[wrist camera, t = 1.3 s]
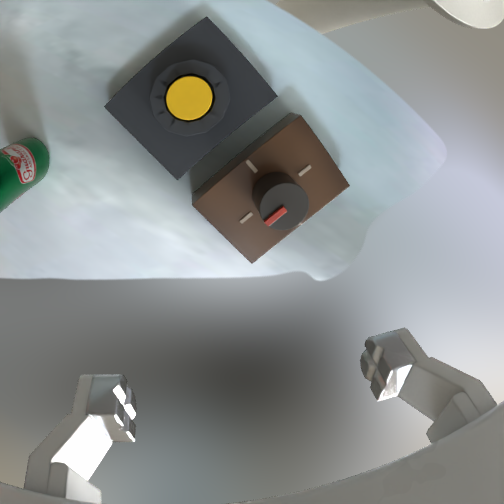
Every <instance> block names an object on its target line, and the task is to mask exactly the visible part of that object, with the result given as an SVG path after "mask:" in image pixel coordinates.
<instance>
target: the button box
mask: <svg viewBox="0 0 504 504" xmlns="http://www.w3.org/2000/svg"><path fill="white" fill-rule="evenodd" d="M187 76H194V77H198V78H200V79H202V80H204V81H205V82H206V83H207V84H208V85H209V87H210V89H211V91H212V103H211V106H210V108H209V109H208V111H207V112H206V113H205V114H204V115H202V116H201V117H199V118H197V119H193V120H183V119H180V118H178V117H176V116H174V115H173V114H172V113H171V112H170V110H169V109H168V106H167V102H166V96H167V92H168V90H169V88H170V86H171V85H172V84H173V83H174V82H175V81H177V80H178V79H180V78H183V77H187ZM276 97H278V96H277V95H276V94H275V92H274V91H273V90H272V89H271V87H270V86H269V85H268V84H267V83H266V81H265V80H264V79H263V78H262V77H261V75H260V74H259V73H258V72H257V71H256V70H255V68H254V67H253V66H252V65H251V64H250V63H249V61H248V60H247V59H246V58H245V57H244V56H243V55H242V53H241V52H240V51H239V50H238V49H237V48H236V47H235V46H234V45H233V44H232V42H231V41H230V40H229V39H228V38H227V37H226V36H225V35H224V34H223V33H222V32H221V31H220V30H219V28H218V27H217V26H216V25H215V24H214V23H213V22H212V21H211V20H210V19H209V18H208V17H205V18H204V19H203V20H201V21H200V22H198V23H197V24H196V25H194V26H193V27H192V28H190V29H189V30H188V31H187V32H185V33H184V34H183V35H181V36H180V37H179V38H178V39H176V40H175V41H174V42H173V43H171V44H170V45H169V46H168V47H167V48H165V49H164V50H163V51H162V52H161V53H159V54H158V55H157V56H156V57H155V58H154V59H153V60H151V61H150V62H149V63H148V64H147V65H146V66H145V67H144V68H143V69H141V70H140V71H139V72H138V73H137V74H136V75H135V76H134V77H133V78H132V79H131V80H130V81H129V82H128V83H127V84H126V85H125V86H124V87H123V88H122V89H121V90H120V91H119V92H118V93H117V94H116V95H115V96H114V97H113V98H112V99H111V100H110V101H109V102H108V103H107V104H106V105H105V106H104V107H105V108H106V109H107V110H108V111H109V112H110V113H111V114H112V115H113V116H114V117H115V118H116V119H117V120H118V121H119V122H120V123H121V124H122V125H123V126H124V127H125V128H126V129H127V130H128V131H129V132H130V133H131V134H132V135H133V136H134V137H135V138H136V139H137V140H138V141H139V142H140V143H141V144H142V145H143V146H144V147H145V148H146V149H147V150H148V151H149V152H150V153H151V154H152V155H153V156H154V157H155V158H156V159H157V160H158V161H159V162H160V163H161V164H162V165H163V166H164V167H165V168H166V169H167V170H168V171H169V172H170V173H171V174H172V175H173V176H174V177H175V178H176V179H177V180H178V179H179V178H180V177H182V176H183V175H184V174H185V173H186V172H187V171H188V170H189V169H190V168H191V167H193V166H194V165H195V164H196V163H197V162H198V161H199V160H200V159H202V158H203V157H204V156H205V155H206V154H207V153H209V152H210V151H211V150H212V149H213V148H214V147H215V146H217V145H218V144H219V143H220V142H221V141H223V140H224V139H225V138H226V137H227V136H229V135H230V134H231V133H232V132H233V131H235V130H236V129H237V128H238V127H239V126H241V125H242V124H243V123H244V122H246V121H247V120H248V119H249V118H251V117H252V116H253V115H254V114H256V113H257V112H258V111H260V110H261V109H262V108H263V107H265V106H266V105H267V104H269V103H270V102H271V101H273V100H274V99H275V98H276Z"/></svg>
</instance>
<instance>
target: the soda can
mask: <svg viewBox="0 0 504 504" xmlns="http://www.w3.org/2000/svg"><path fill="white" fill-rule="evenodd" d="M48 168H49V155H48V151H47V149H46V147H45V146H44V144H43V143H42V142H41V141H39V140H38V139H36V138H25V139H22V140H20V141H18V142H15V143H13V144H11V145H8V146H6V147H4V148H2V149H0V213H1V212H2V211H3V210H4V209H5V208H7V207H8V206H9V205H10V204H11V203H13V202H14V201H15V200H16V199H18V198H19V197H20V196H21V195H23V194H24V193H25V192H26V191H28V190H29V189H30V188H32V187H33V186H34V185H35V184H37V183H38V182H39V181H41V180H42V179H43V178H44V177H45V175H46V173H47V171H48Z"/></svg>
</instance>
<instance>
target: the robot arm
mask: <svg viewBox="0 0 504 504" xmlns="http://www.w3.org/2000/svg"><path fill="white" fill-rule="evenodd" d="M483 1H490V0H483ZM365 347H366V350H365V351H364V352H363V353H362V356H361V360H360V362H361V369H362V372H363V375H364V377H365V378H366V379H368V380H369V381H371V386H370V388H371V390H372V392H373V394H374V396H375V398H376V399H377V401H381V400H384V399H387V398H390V397H393V396H396V395H398V397H400V398H401V399H402V400H404V401H405V402H407V403H408V404H410V405H411V406H412V407H414V408H415V409H417V410H418V411H420V412H421V413H422V414H424V415H425V416H427V417H428V418H430V419H431V420H433V421H434V423H433V424H432V425H431V427H430V428H429V429H428V431H427V433H426V434H427V436H428V438H429V440H430V442H431V444H430V445H428V446H426V447H424V448H422V449H419V450H417V451H415V452H413V453H411V454H409V455H406V456H404V457H402V458H399V459H398V460H395V461H392V462H390V463H388V464H385V465H382V466H380V467H377V468H375V469H372V470H369V471H366V472H364V473H361V474H358V475H355V476H352V477H349V478H346V479H343V480H339V481H336V482H332V483H329V484H326V485H322V486H319V487H314V488H311V489H307V490H303V491H298V492H294V493H289V494H285V495H280V496H274V497H269V498H263V499H258V500H252V501H244V502H236V503H228V504H504V401H503V402H501V403H500V404H498V405H497V403H496V402H495V401H494V399H493V398H492V396H491V395H490V393H489V392H488V391H487V389H486V388H485V386H484V385H483V383H482V382H481V381H480V380H478V379H476V378H474V377H472V376H470V375H468V374H466V373H463V372H462V371H460V370H457V369H455V368H453V367H451V366H449V365H447V364H445V363H443V362H441V361H439V360H437V359H435V358H433V357H430V358H428V356H427V355H426V354H425V352H424V351H423V350H422V348H421V347H420V345H419V344H418V343H417V341H416V340H415V339H414V337H413V336H412V335H411V333H410V332H409V330H408V329H406V328H401V329H398V330H394V331H390V332H386V333H383V334H379V335H376V336H372V337H368V339H367V340H366V342H365ZM135 415H136V399H135V395H134V393H133V391H132V389H131V388H129V387H128V386H127V379H126V378H125V376H124V375H81V377H80V378H79V381H78V385H77V389H76V393H75V398H74V403H73V407H72V412H71V414H67V415H66V416H65V417H64V418H63V420H62V421H61V422H60V423H59V424H58V425H57V426H56V427H55V428H54V429H53V431H51V433H50V434H49V435H48V436H47V437H46V438H45V439H44V440H43V441H42V443H41V444H40V445H39V446H38V447H37V448H36V449H35V450H34V451H33V452H32V453H31V455H30V456H29V460H28V465H27V471H26V477H25V483H24V489H22V488H19V487H15V486H12V485H8V484H5V483H2V482H0V504H101V491H100V490H99V489H98V488H97V487H96V486H94V485H93V484H91V483H90V482H89V481H88V480H89V478H90V477H91V475H92V474H93V472H94V471H95V469H96V468H97V466H98V464H99V463H100V461H101V460H102V458H103V457H104V455H105V454H106V452H107V451H108V449H109V448H110V446H111V445H112V442H135V427H136V426H135V424H134V422H133V421H132V419H133V418H134V416H135Z"/></svg>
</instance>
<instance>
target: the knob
mask: <svg viewBox="0 0 504 504" xmlns="http://www.w3.org/2000/svg"><path fill="white" fill-rule="evenodd" d="M253 202H254V204H255V206H256V208H257V210H258V212H259V214H260V216H261V218H262V220H263V221H264V223H265V224H266V225H267V226H269V227H271V228H273V229H276V230H288V229H292V228H294V227H296V226H297V225H299V224H300V223H301V222H302V221H303V220H304V218H305V217H306V215H307V213H308V209H309V199H308V196H307V194H306V192H305V191H304V189H303V188H302V187H301V186H300V185H299V184H298V183H297V182H296V181H295V180H294V179H293V178H291V177H290V176H289V175H287V174H285V173H282V172H272V173H268V174H266V175H264V176H263V177H261V178H260V179H259V180H258V181H257V183H256V184H255V186H254V189H253Z"/></svg>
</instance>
